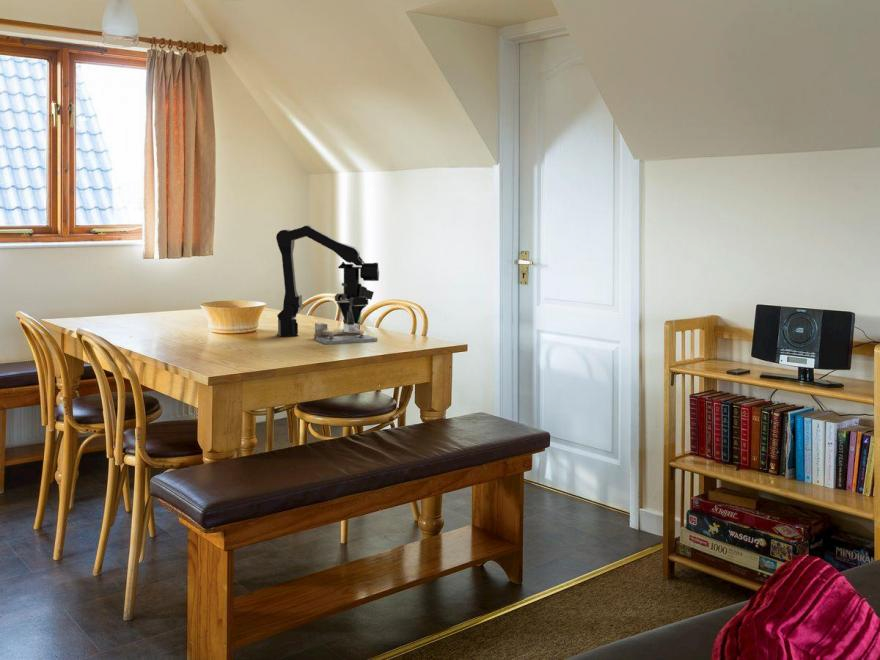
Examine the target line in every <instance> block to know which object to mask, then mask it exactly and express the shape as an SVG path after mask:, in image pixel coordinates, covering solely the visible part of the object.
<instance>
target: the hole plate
mask: <svg viewBox="0 0 880 660" xmlns="http://www.w3.org/2000/svg"><path fill="white" fill-rule="evenodd" d="M315 342H318V343H321V344H323V345H339V344H341V345H342V344H352V343H353V344H356V343H357V344H358V343H370V342H371V343H372V342H378V337H375V336H373V335H370V334H363V336H360V335H351V336H333V338H329V337H316V338H315Z"/></svg>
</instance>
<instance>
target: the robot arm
mask: <svg viewBox="0 0 880 660" xmlns="http://www.w3.org/2000/svg"><path fill="white" fill-rule="evenodd" d="M302 238H309V239H311V240H312V241H314V242H316V243H318V244H320V245H321V246H324V247H325V248H327V249H329V250H331V251H332V252H334V253H335V254H336V255H338V257H340V259H342V260H344V261H345V262H346V263H345V262H344V261H342V262H341V264H340V265H338V267H337V268H338V269H343V282H342V283H341V286H342V287H343V293H342V292H341V293H336V294H335V296H334V302H336V305H337V306H338V308H339V310H340V312H341V314H342V317H344V318H343V320H344V319H345V321H347V311H348V310H351V314H352V317H353V320H354V323H355V324H357V323H358V320H359V317H360V314H361V315H362V311H363V310H364V309H365V308H366V307H367V306H368V305H369V300H370V301H372V299H373V296H374V293H375V292H374V291H372V290H369V289H367V287H365V286H363V285H362V284H361V283H360V279H362V281H365V282H368V281H369V282H379V280H380V271H379V263H378V262H365V261H364V260H363V259H362V257H361V256H360V254H361V253H360V251H359V249H358V248H357V247H355V246H352V245H349V244H346V243H342V242H340V241H338V240H335V239H334V238H332V237H331V236H328V235H327V234H325V233H322V232H321V231H319V230H317V229H315V228H314V227H312V226H311V225H304V226H301V227H298V228H295V229H292V230H290V229H282V230H280V231H278V232H277V234H276V236H275V240H276V243H277V247H278V249H279V252H280V254H281V263H282V273H283V281H284V282H283V284H284V298H283V305H282V306H283V307H282V310H281V311H280V312H279V313H278V314H277V333H276V336H280V337H282V338H283V337H285V338H286V337H298V336H299V334H298V333H299V329H298V328H299V324H298V322H297V318H296V317H297V316H298V314H299V313H300V312H301V311H302V307H303V306H304V303H303V295H302V294H300V295H299V294H298V292H297V285H296V275H295V263H294V248H295V242H296V240H299V239H302ZM354 265H355V266H354ZM362 309H363V310H362Z"/></svg>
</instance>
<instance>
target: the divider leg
mask: <svg viewBox="0 0 880 660" xmlns="http://www.w3.org/2000/svg"><path fill="white" fill-rule="evenodd" d="M343 332H347V333H360V336H363V335H364V332H365V331H364V329H363V330H362V329H361V328H360V329H359V324H355V323H354V320H353V317H352V314H351V310H348V311H347V323H344V322H343Z"/></svg>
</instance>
